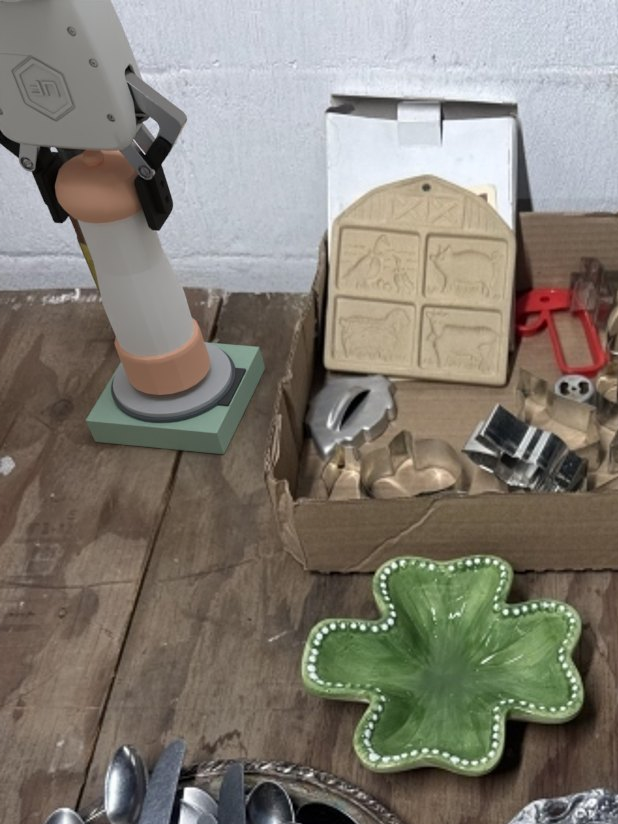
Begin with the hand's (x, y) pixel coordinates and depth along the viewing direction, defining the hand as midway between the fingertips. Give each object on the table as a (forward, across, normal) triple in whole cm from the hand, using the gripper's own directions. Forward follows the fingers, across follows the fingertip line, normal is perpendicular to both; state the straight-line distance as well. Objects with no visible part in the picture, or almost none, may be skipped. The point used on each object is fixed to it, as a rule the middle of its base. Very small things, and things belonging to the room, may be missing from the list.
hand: (113, 215), depth 83 cm
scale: (+18, 0, 0) cm, 18 cm away
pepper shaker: (+14, 0, 0) cm, 14 cm away
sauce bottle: (+18, -7, +10) cm, 22 cm away
